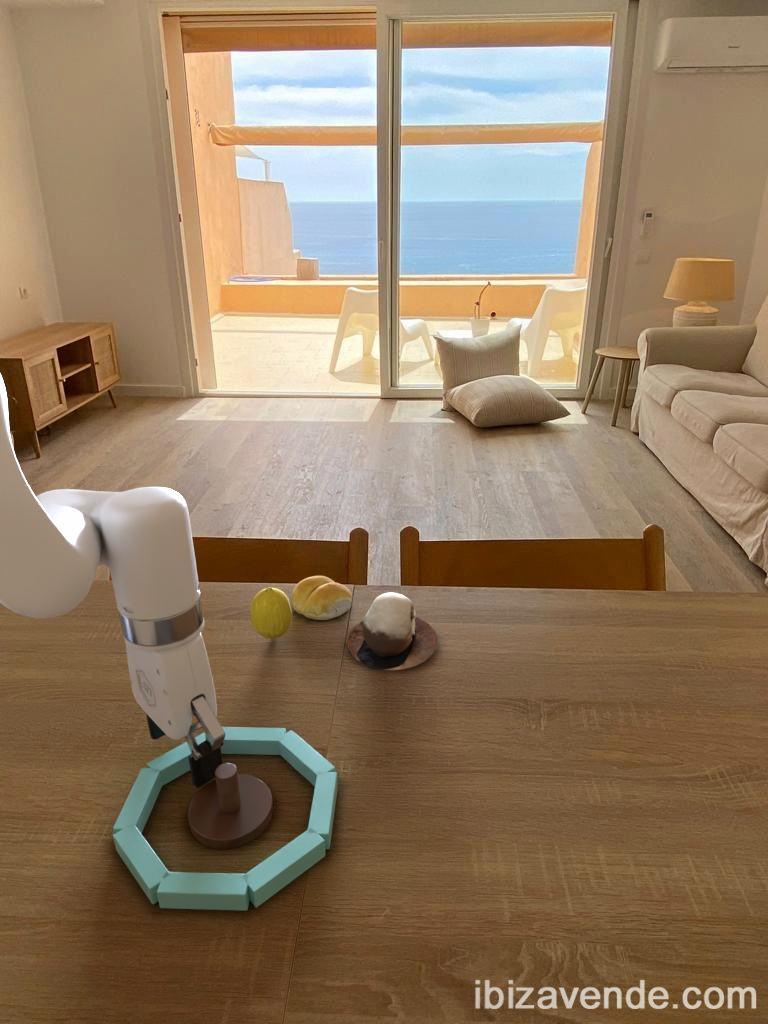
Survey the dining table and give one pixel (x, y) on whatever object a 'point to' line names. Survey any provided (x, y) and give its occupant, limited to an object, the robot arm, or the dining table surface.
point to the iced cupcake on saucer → (392, 635)
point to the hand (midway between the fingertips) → (186, 754)
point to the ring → (222, 887)
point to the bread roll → (321, 598)
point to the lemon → (271, 613)
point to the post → (230, 809)
